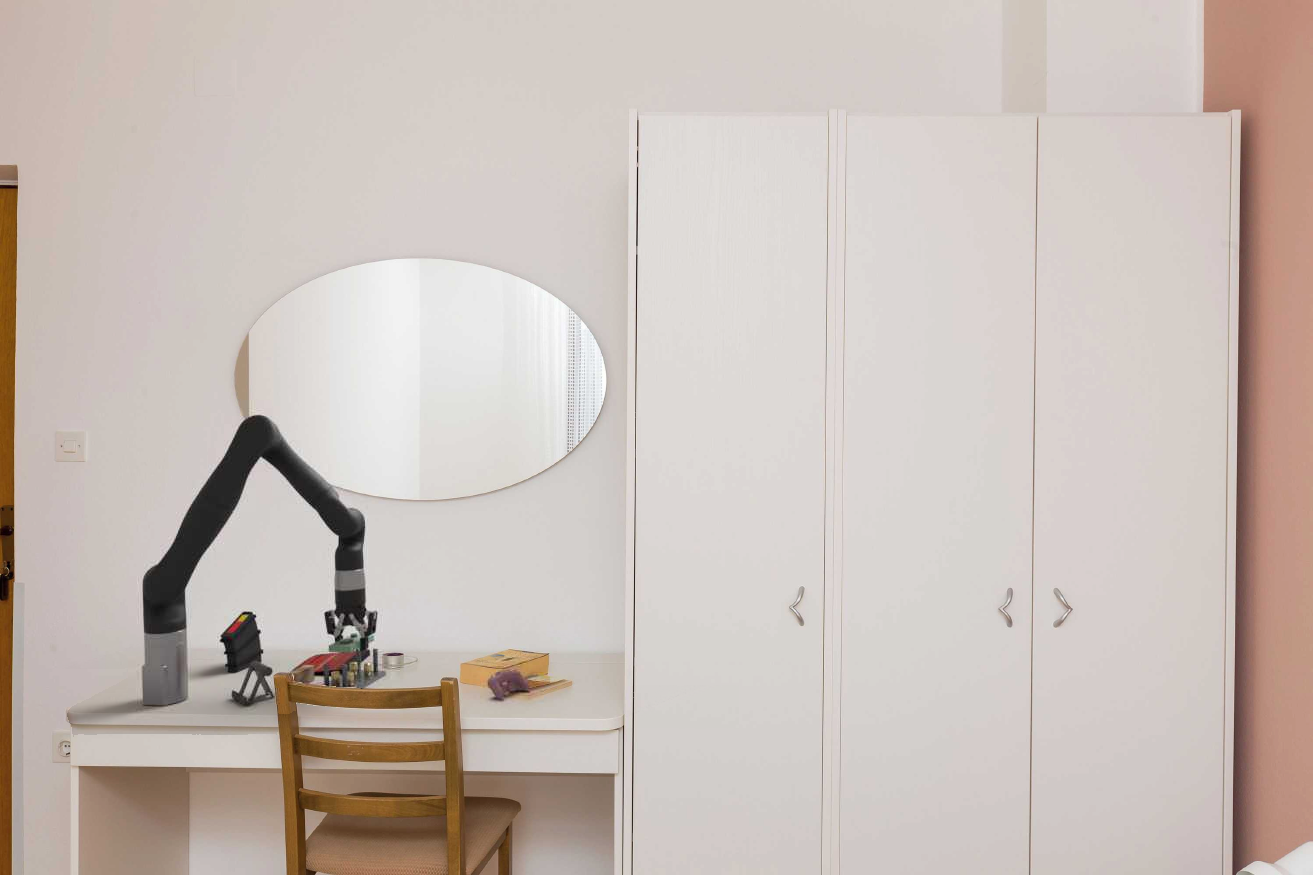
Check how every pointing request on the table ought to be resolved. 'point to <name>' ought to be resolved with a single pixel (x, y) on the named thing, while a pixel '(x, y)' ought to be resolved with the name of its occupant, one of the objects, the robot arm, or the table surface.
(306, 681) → the rest
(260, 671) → the portable electronic device stand
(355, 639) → the board
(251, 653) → the black box
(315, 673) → the binder
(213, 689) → the table surface
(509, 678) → the purple animal figurine
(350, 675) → the chassis
